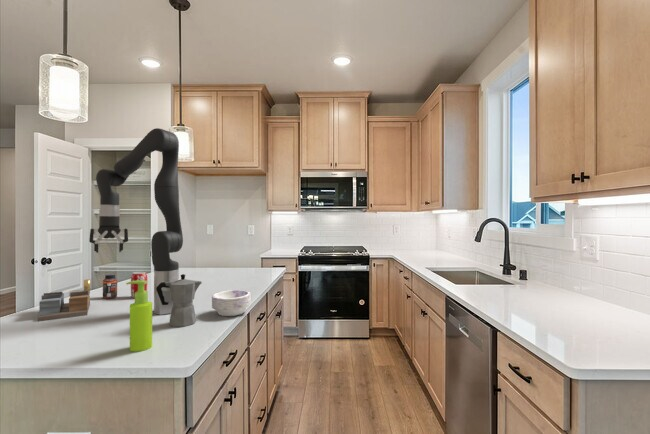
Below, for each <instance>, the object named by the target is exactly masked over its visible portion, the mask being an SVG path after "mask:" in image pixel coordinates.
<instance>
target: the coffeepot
mask: <svg viewBox="0 0 650 434" xmlns="http://www.w3.org/2000/svg"><path fill="white" fill-rule="evenodd" d="M201 284H203V283H202V281H200V280H193V279H187V278H186V274H184V273H183V274H180V279H179V280H177V281H174V282H161V283H160V284H159V285H158V286H157V288H156V291H157V293H158V295H159V298H160V301H161V303H162V305H168V303H169V302H165V299H164V296H163V292H162V290H161V288H163V287H166V288H170V293H171V299H172V302H173V307H172V310H171V313H170V316H169V323H168V324H169V326H170V327H173V328H184V327H185V328H186V327H190V326H192V325H194V324H195V323H196V322H197V317H196V312H195V305H194V303H193V301H194V300H195V295H196V292H197V290H198V289H199V287H200V285H201Z"/></svg>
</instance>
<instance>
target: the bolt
mask: <svg viewBox="0 0 650 434" xmlns="http://www.w3.org/2000/svg"><path fill="white" fill-rule="evenodd" d="M91 280H92V279H83V289H76V290H77V291H75V290H70V291H69V292H68V296H69V297H70V293H74V292H84V291H88V294H91V289H92V288H91V283H92V281H91Z"/></svg>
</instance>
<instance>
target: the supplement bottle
mask: <svg viewBox="0 0 650 434" xmlns="http://www.w3.org/2000/svg"><path fill="white" fill-rule="evenodd" d="M104 275H105V278H104V279H103V280H102V299H104V300H106V299H107V300H111V299H115V298H118V279H117V277H116V274H115V273H107V274H104Z"/></svg>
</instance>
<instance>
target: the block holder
mask: <svg viewBox="0 0 650 434" xmlns="http://www.w3.org/2000/svg"><path fill="white" fill-rule="evenodd" d="M77 290H78V289H76V290H75V289H74V291H77ZM90 294H91V293H90ZM90 294H88V291H84V292H74V293H70V296H69V298H68V302H66V303H65V293H64V292H63V291H55V292H43V295H41V299H40V301H39V304H38V306H39V307H38V308H39V315H38V316H37V322H43V321H51V320H58V319H59V320H60V319H67V318H74V317H83V316H88V313H89V311H90V310H89V309H90V306H91V300H90V297H91V295H90Z"/></svg>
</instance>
